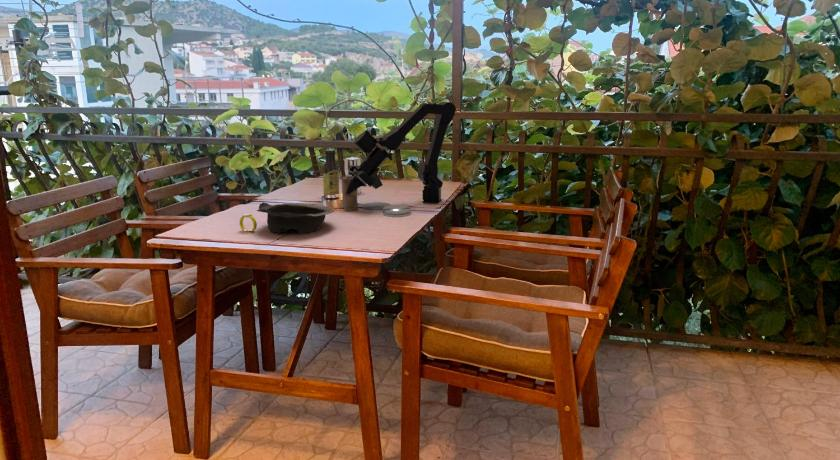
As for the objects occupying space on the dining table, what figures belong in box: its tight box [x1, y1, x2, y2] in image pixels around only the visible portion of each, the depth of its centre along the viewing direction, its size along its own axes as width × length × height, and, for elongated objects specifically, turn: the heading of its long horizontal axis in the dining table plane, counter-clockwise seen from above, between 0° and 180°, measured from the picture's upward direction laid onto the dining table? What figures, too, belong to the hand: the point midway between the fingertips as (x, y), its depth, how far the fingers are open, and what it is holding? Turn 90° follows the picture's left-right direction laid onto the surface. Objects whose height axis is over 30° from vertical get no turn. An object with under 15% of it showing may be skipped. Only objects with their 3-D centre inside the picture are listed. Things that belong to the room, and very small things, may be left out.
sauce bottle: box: [322, 149, 340, 197], centre depth 244 cm, size 7×6×20 cm
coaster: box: [361, 201, 391, 211], centre depth 231 cm, size 11×11×1 cm
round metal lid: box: [382, 204, 411, 218], centre depth 219 cm, size 10×10×2 cm
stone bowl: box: [256, 201, 336, 234], centre depth 200 cm, size 25×25×9 cm
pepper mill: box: [341, 175, 359, 212], centre depth 226 cm, size 5×5×13 cm
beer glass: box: [344, 156, 362, 195], centre depth 253 cm, size 7×7×15 cm
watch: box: [239, 213, 258, 232], centre depth 198 cm, size 6×3×6 cm, turn 67°
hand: (345, 192), depth 225 cm, fingers closed on pepper mill, 5 cm apart
